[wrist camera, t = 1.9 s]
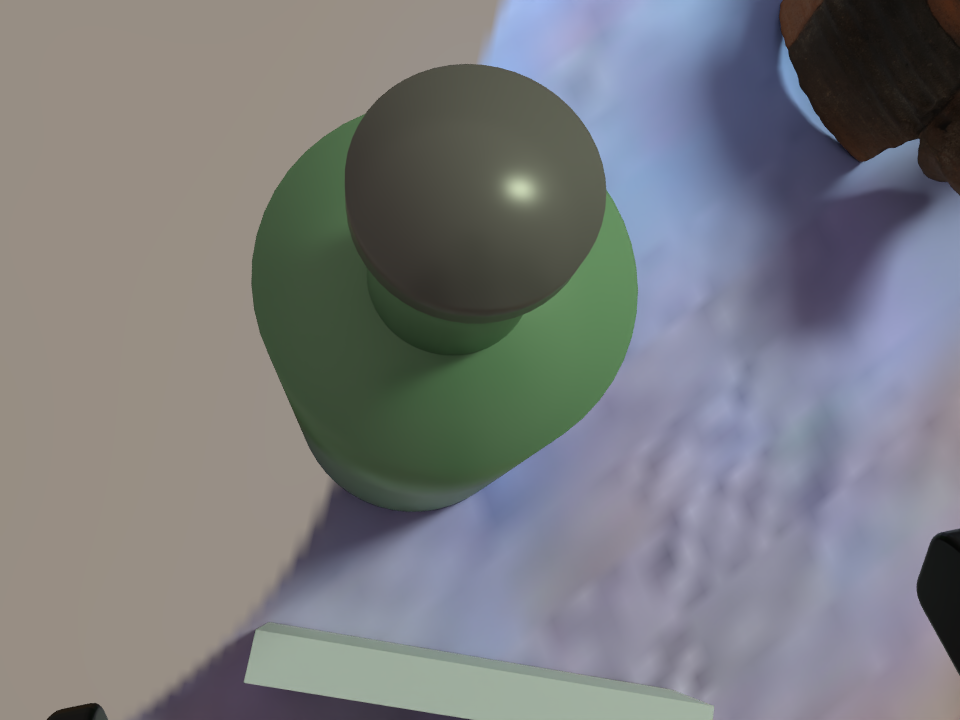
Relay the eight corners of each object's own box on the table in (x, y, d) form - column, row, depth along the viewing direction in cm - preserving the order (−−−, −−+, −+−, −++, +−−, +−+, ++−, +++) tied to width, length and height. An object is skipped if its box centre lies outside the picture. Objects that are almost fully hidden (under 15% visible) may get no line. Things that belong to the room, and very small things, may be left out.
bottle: (507, 530, 21) (695, 479, 9) (274, 488, 20) (154, 377, 8) (541, 311, 22) (742, 22, 10) (324, 267, 22) (280, -87, 10)
